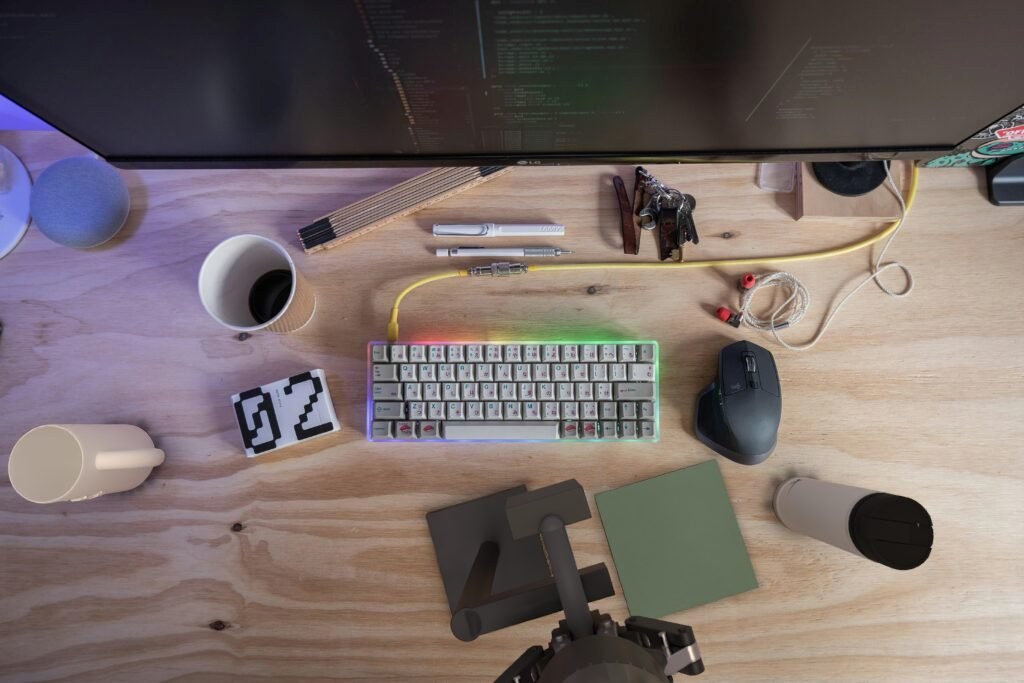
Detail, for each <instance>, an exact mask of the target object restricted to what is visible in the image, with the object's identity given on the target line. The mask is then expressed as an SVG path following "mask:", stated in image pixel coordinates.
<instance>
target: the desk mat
mask: <svg viewBox="0 0 1024 683" xmlns="http://www.w3.org/2000/svg"><path fill="white" fill-rule="evenodd" d="M594 499H595V503H596V506H597V509H598V513H599V516H600V519H601V522H602V526H603V529H604V532H605V537H606V539H607V543H608V545H609V550H610V552H611V555H612V559H613V561H614V566H615V568H616V572H617V575H618V579H619V582H620V585H621V588H622V592H623V595H624V598H625V602H626V605H627V608H628V612H629V614H630V615H629V616H643V617H648V618H653V619H660V618H663V617H665V616H670V615H672V614H675V613H679V612H682V611H683V612H684V611H686V610H689V609H693V608H696V607H699V606H702V605H705V604H710V603H713V602H716V601H718V600H723V599H726V598H729V597H733V596H735V595H740V594H742V593H746V592H750V591H753V590H755V589H759V588H760V585H759V582H758V579H757V577H756V573H755V570H754V567H753V565H752V561H751V558H750V556H749V552H748V550H747V546H746V543H745V541H744V537H743V535H742V531H741V529H740V526H739V522H738V520H737V517H736V513H735V511H734V507H733V505H732V501H731V499H730V496H729V492H728V490H727V487H726V484H725V482H724V478H723V475H722V472H721V469H720V465H719V464H718V461H717V459H716V458H715V459H712V460H711V459H710V460H708V461H704V462H701V463H697V464H695V465H691V466H688V467H685V468H684V467H683V468H680V469H677V470H674V471H671V472H668V473H664V474H660V475H658V476H654V477H651V478H650V477H649V478H648V479H644V480H640V481H637V482H634V483H630V484H627V485H624V486H620V487H617V488H613V489H610V490H607V491H604V492H600V493H597V494H594Z"/></svg>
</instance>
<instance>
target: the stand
mask: <svg viewBox="0 0 1024 683" xmlns="http://www.w3.org/2000/svg"><path fill="white" fill-rule="evenodd" d="M526 492H528V491H527V488H526V484H525V483H524V484H521V485H520V484H519V485H517V486H514V487H511V488H506V489H503V490H500V491H496V492H493V493H491V494H490V493H489V494H486V495H483V496H481V497H477V498H474V499H471V500H470V499H469V500H466V501H462V502H461V503H457V504H456V503H455V504H453V505H450V506H447V507H443V508H439V509H436V510H433V511H430V512H427V513H426V514H425V518H426V522H427V526H428V530H429V534H430V537H431V541H432V545H433V549H434V553H435V557H436V559H437V564H438V568H439V571H440V575H441V579H442V583H443V587H444V591H445V594H446V598H447V602H448V606H449V610H450V614H451V618H450V624H449V625H450V630H451V633H452V635H453V636H454V637H455V638H456V639H457V640H459V641H461V642H464V643H468V642H469V643H470V642H473V641H475V640H476V639H478V638H479V637H480V636H484V635H487V634H490V633H493V632H496V631H500V630H504V629H507V628H511V627H513V626H517V625H520V624H523V623H526V622H527V623H528V622H530V621H534V620H537V619H540V618H544V617H547V616H550V615H553V614H557V613H560V612H564V611H563V608H562V604H561V601H560V597H559V594H558V590H557V587H556V583H555V580H554V577H553V576H552V574H551V571H550V570H551V569H550V567H549V562H548V559H547V557H546V556H547V555H546V553H545V548H544V546H543V543H542V542H543V541H542V539H541V536H540V535H541V534H537V535H533V536H530V537H527V538H523V539H520V540H517V541H513V538H512V534H511V531H510V527H509V524H508V520H507V517H506V513H505V506H506V501H507V498H509V497H512V496H516V495H519V494H522V493H526ZM577 569H578V572H579V575H580V579H581V582H582V586H583V589H584V592H585V596H586V599H587V602H588V604H590V603H593V602H597V601H600V600H603V599H607V598H610V597H614V596H616V591H615V588H614V585H613V581H612V578H611V575H610V571H609V568H608V566H607V565H606V562H605V561H601V562H598V563H595V564H591V565H588V566H586V567H581V568H577Z"/></svg>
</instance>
